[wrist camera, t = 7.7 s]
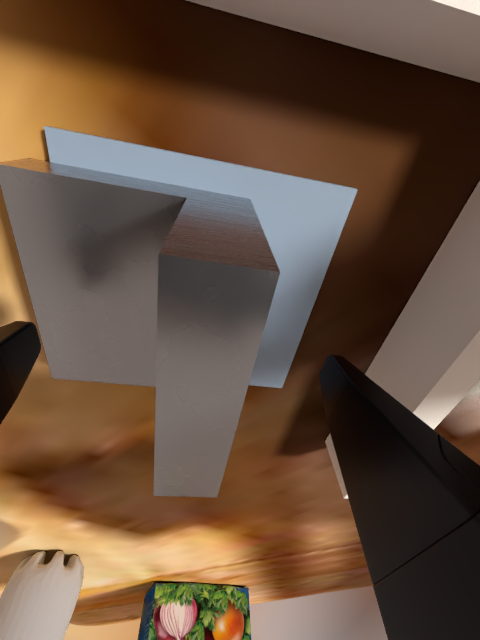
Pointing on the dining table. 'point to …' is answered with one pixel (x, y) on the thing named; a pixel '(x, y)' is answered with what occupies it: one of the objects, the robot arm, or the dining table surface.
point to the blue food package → (195, 612)
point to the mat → (273, 213)
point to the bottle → (40, 598)
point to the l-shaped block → (469, 228)
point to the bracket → (148, 300)
